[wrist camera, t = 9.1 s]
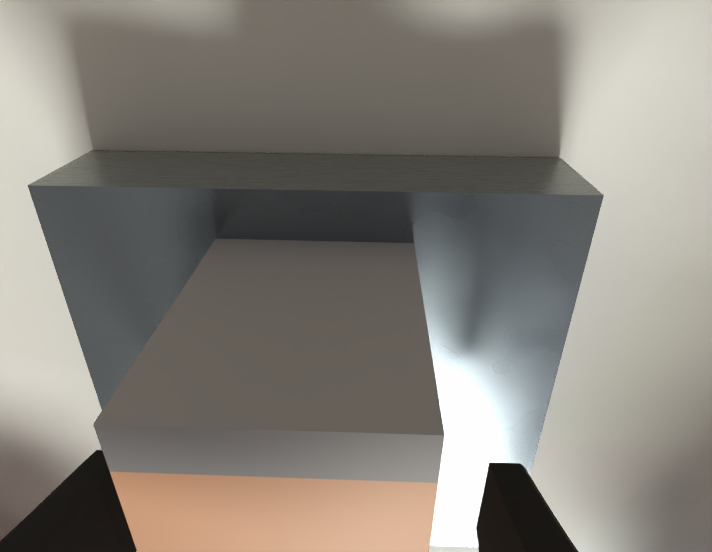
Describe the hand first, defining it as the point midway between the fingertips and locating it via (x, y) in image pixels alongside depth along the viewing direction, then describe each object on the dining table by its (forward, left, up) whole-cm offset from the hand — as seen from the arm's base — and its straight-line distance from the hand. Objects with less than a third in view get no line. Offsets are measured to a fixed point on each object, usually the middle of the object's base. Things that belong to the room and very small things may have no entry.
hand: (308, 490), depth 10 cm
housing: (0, 0, -2) cm, 2 cm away
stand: (0, 0, -5) cm, 5 cm away
